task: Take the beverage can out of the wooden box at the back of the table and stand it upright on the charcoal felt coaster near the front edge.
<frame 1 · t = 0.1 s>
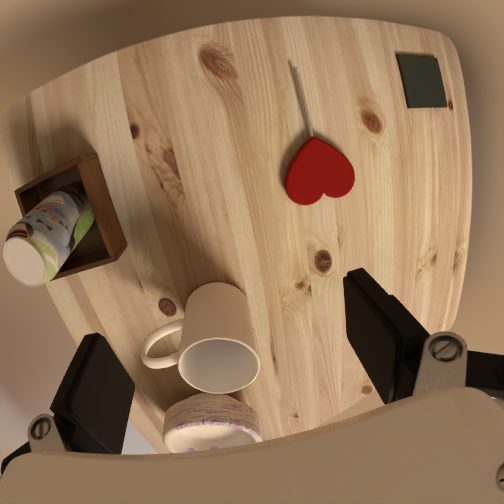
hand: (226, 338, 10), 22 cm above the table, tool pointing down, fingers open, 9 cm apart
mug: (200, 308, 36), on the table
lollipop: (309, 133, 29), on the table
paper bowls: (211, 407, 44), on the table
wooden box: (77, 213, 29), on the table
coaster: (422, 81, 27), on the table
beverage can: (76, 213, 29), resting on wooden box
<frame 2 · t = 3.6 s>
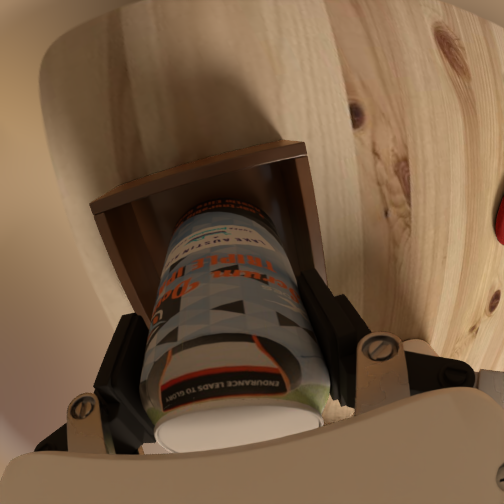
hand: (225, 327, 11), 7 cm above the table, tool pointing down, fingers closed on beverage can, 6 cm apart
mug: (378, 371, 24), on the table
wooden box: (223, 250, 18), on the table
beverage can: (223, 251, 17), resting on wooden box, touching gripper
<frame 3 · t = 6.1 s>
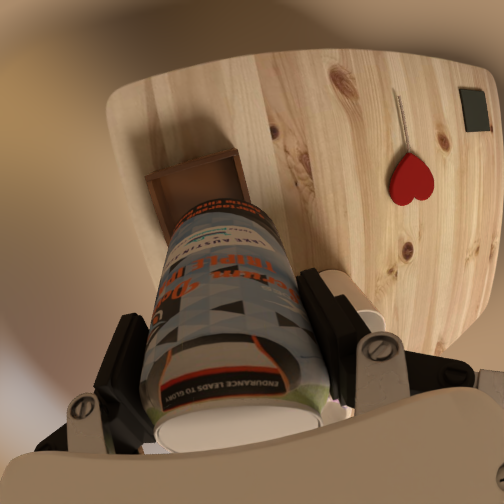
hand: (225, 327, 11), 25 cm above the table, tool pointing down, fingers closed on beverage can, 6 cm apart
mug: (312, 294, 40), on the table
lollipop: (406, 149, 34), on the table
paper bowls: (298, 391, 48), on the table
wooden box: (206, 204, 34), on the table
coaster: (475, 110, 32), on the table
beverage can: (223, 252, 18), point 17 cm above the table, touching gripper
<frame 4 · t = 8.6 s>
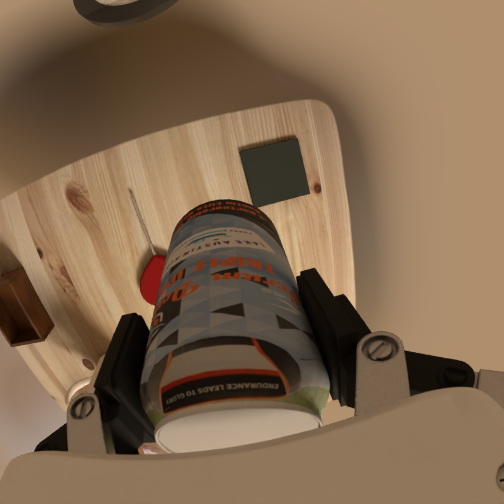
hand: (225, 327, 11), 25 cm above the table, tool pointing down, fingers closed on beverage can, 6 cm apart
mug: (109, 367, 43), on the table
lollipop: (154, 250, 36), on the table
wooden box: (21, 302, 36), on the table
coaster: (275, 172, 34), on the table
beverage can: (223, 253, 18), point 18 cm above the table, touching gripper
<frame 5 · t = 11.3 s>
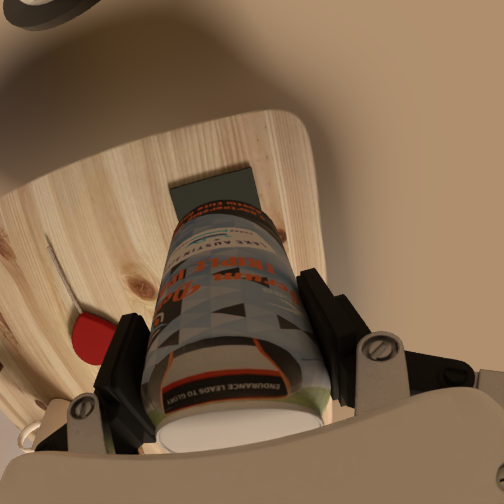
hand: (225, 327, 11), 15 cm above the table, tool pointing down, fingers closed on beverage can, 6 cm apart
mug: (61, 410, 34), on the table
lollipop: (82, 306, 27), on the table
coaster: (220, 216, 25), on the table
beverage can: (223, 253, 18), point 8 cm above the table, touching gripper
when the fingers open (7 cm above the table, at t = 13.6 s): beverage can stays where it is, resting on coaster.
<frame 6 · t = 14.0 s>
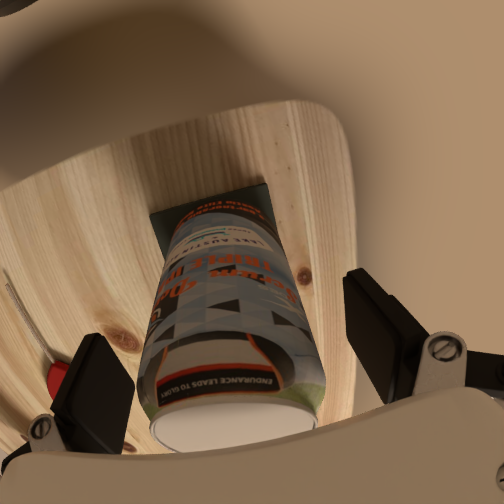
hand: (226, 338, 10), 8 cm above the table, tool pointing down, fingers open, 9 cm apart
lollipop: (54, 354, 20), on the table
coaster: (222, 252, 18), on the table
beverage can: (224, 252, 18), resting on coaster
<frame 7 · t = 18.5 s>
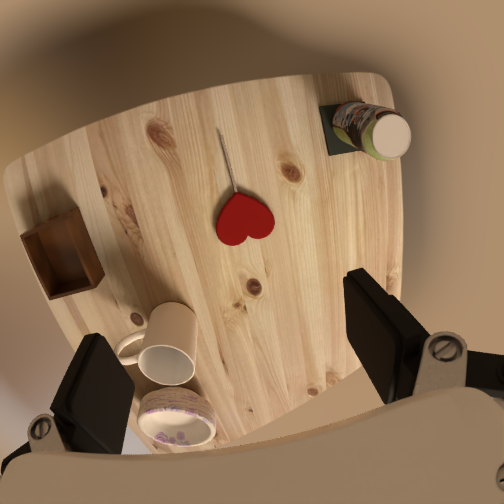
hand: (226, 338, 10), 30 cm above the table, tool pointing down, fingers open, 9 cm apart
mug: (161, 321, 45), on the table
lollipop: (235, 188, 38), on the table
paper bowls: (178, 399, 53), on the table
wooden box: (67, 250, 39), on the table
coaster: (346, 127, 36), on the table
beverage can: (347, 127, 36), resting on coaster
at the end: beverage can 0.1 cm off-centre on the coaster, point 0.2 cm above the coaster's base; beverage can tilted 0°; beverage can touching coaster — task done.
